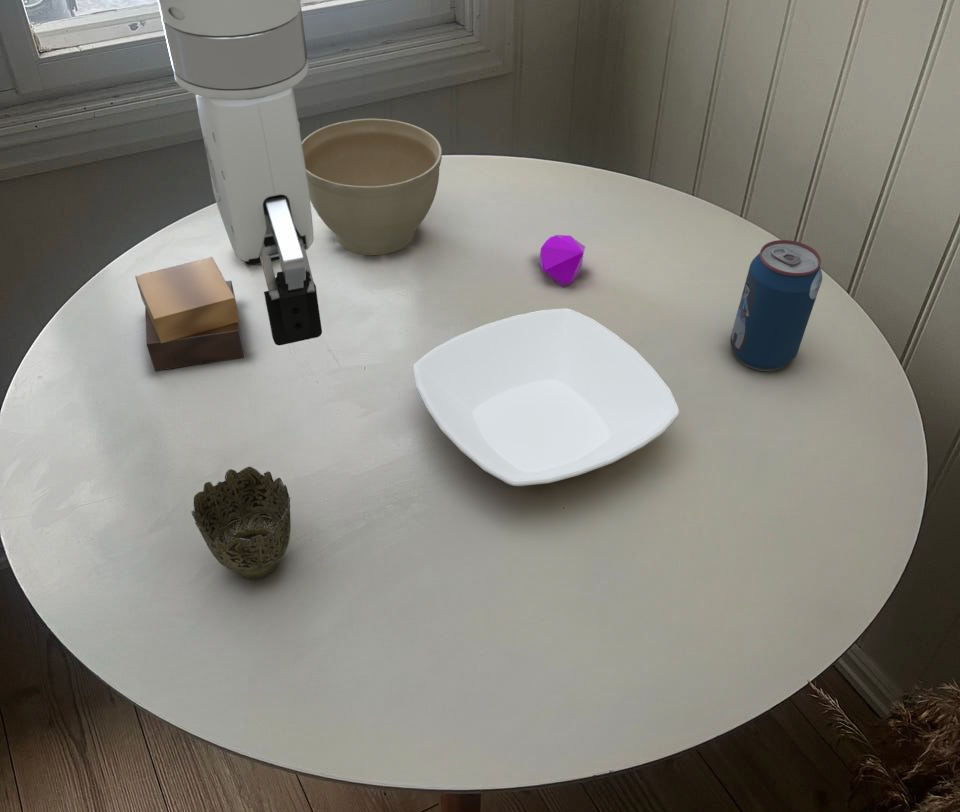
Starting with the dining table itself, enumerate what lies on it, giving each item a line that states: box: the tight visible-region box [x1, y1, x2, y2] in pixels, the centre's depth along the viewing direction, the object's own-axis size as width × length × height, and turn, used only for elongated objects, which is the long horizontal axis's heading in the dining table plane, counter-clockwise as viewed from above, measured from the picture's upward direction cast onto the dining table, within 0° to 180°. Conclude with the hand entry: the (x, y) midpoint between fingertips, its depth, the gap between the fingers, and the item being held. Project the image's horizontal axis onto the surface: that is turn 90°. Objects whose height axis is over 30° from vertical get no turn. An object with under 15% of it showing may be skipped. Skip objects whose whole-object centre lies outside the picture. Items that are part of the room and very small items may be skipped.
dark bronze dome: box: [191, 466, 292, 580], centre depth 74 cm, size 8×7×8 cm
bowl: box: [412, 307, 681, 487], centre depth 87 cm, size 22×22×5 cm
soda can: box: [729, 239, 823, 372], centre depth 93 cm, size 7×7×12 cm
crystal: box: [538, 234, 586, 287], centre depth 105 cm, size 5×5×5 cm
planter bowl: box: [301, 118, 443, 256], centre depth 107 cm, size 16×16×11 cm
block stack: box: [134, 256, 245, 372], centre depth 95 cm, size 10×10×6 cm
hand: (281, 297), depth 64 cm, fingers open, 9 cm apart
